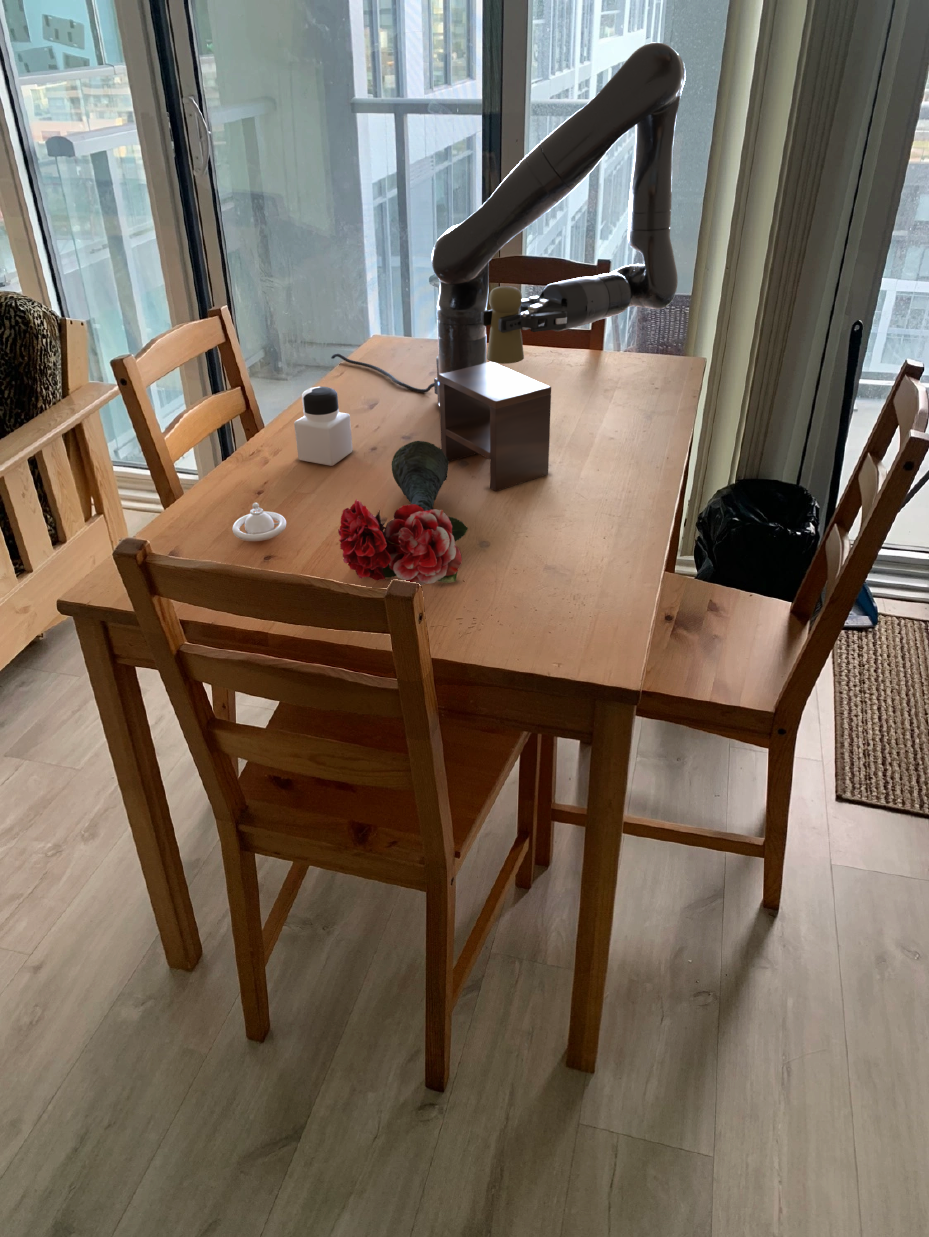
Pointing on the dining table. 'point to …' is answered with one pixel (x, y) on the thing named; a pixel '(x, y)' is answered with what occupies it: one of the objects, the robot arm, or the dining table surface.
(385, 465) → the dining table surface
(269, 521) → the ring around a ball
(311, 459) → the medicine bottle
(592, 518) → the dining table surface
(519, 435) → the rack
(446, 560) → the carnation
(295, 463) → the dining table surface
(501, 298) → the cork
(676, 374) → the dining table surface
